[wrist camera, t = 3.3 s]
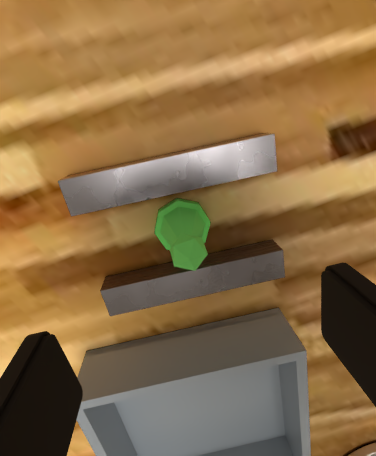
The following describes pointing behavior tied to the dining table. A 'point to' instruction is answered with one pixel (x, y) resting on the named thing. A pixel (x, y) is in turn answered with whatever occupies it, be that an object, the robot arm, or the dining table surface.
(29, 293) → the dining table surface
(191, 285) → the slot holder
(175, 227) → the game piece
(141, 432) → the bin
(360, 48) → the dining table surface
